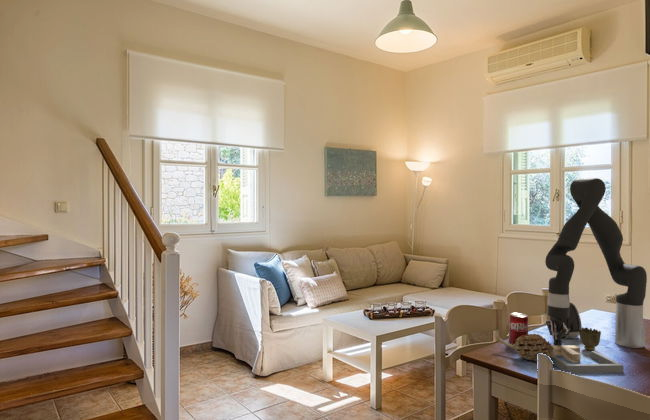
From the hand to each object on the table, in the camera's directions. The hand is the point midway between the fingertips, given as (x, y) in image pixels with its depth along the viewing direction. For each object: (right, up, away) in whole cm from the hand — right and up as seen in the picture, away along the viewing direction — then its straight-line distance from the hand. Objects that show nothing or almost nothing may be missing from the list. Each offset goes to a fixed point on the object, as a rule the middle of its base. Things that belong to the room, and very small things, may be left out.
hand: (557, 348), depth 168 cm
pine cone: (-18, -1, -8) cm, 19 cm away
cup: (+14, -2, +2) cm, 14 cm away
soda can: (-11, -1, +9) cm, 14 cm away
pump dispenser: (+15, -1, +19) cm, 25 cm away
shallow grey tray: (+1, -1, -13) cm, 14 cm away
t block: (0, -1, -7) cm, 7 cm away
